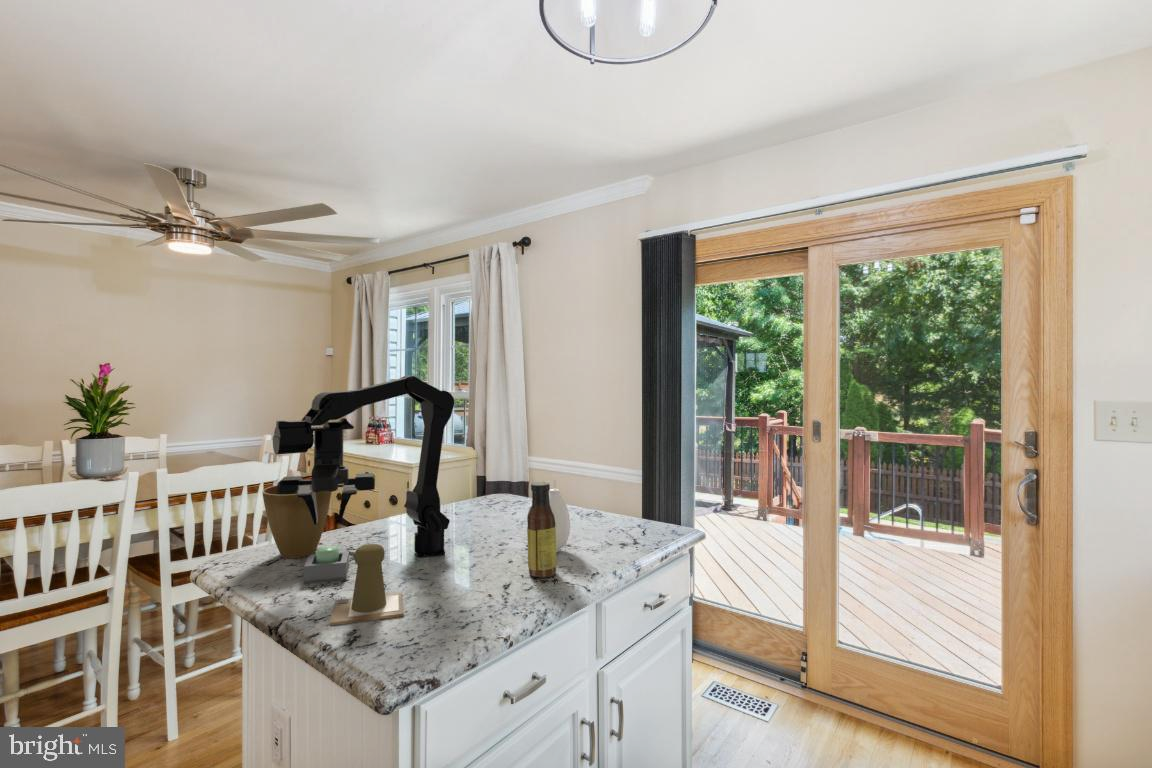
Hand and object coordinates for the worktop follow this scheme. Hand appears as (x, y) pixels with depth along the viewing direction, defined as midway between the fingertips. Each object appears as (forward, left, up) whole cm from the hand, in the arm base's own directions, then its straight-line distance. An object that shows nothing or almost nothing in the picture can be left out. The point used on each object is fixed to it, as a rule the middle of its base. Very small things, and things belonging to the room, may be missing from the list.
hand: (327, 523), depth 115 cm
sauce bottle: (-44, +13, -11) cm, 47 cm away
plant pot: (+8, -17, -11) cm, 22 cm away
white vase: (-51, -1, -11) cm, 52 cm away
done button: (0, 0, -8) cm, 8 cm away
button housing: (0, 0, -11) cm, 11 cm away
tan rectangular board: (-9, +21, -11) cm, 25 cm away
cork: (-9, +21, -11) cm, 25 cm away
